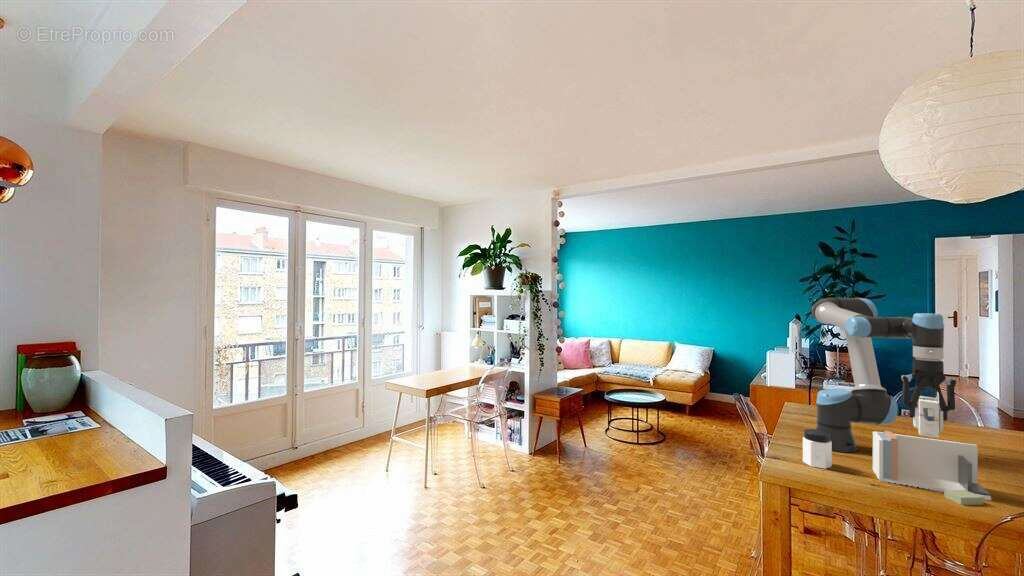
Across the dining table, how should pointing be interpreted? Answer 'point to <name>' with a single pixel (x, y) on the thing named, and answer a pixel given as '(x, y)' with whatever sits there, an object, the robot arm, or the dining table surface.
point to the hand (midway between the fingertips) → (927, 428)
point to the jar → (817, 448)
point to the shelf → (922, 461)
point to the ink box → (928, 416)
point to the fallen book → (963, 497)
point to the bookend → (968, 477)
